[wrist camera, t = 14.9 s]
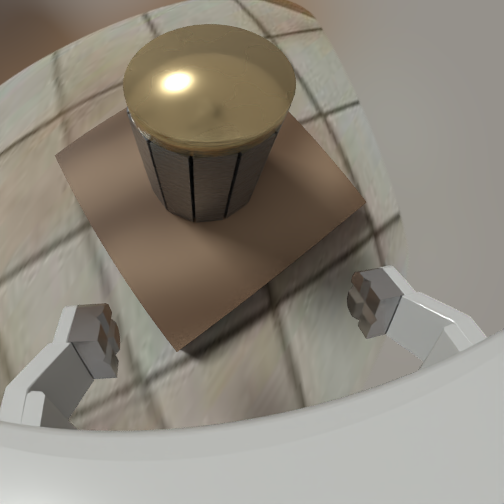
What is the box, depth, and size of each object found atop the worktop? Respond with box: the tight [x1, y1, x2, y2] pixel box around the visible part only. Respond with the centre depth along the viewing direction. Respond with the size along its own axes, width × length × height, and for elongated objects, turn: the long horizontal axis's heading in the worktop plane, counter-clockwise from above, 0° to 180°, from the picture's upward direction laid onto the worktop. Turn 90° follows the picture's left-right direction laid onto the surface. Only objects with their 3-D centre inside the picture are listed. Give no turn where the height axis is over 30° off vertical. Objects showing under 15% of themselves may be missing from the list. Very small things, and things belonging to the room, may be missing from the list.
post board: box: [55, 108, 366, 352], centre depth 18 cm, size 14×14×2 cm
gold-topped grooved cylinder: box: [123, 24, 296, 223], centre depth 13 cm, size 6×6×8 cm
